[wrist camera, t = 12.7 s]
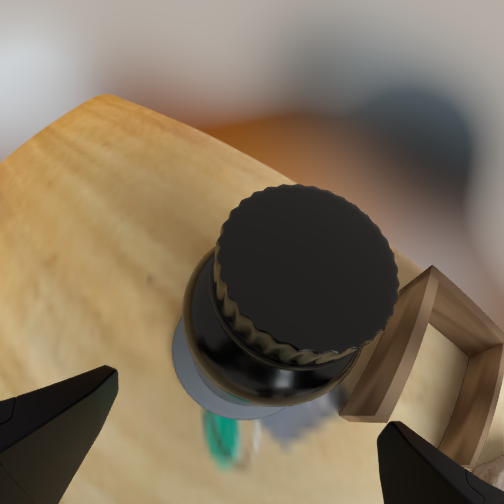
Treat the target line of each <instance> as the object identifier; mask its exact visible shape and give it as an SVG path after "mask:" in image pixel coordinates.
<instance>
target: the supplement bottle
mask: <svg viewBox="0 0 504 504" xmlns="http://www.w3.org/2000/svg"><path fill="white" fill-rule="evenodd" d="M397 273H398V268H397V265H396V263H395V261H394V253H393V252H392V250H391V249H390V247H389V244H388V241H387V239H386V238H385V237H384V236H383V235H382V233H381V231H380V229H379V227H378V226H377V225H376V224H374V223H373V222H372V221H371V219H370V218H369V216H368V215H366V214H365V213H363V212H362V211H360V209H359V208H358V207H357V206H356V205H354V204H352V203H349V202H348V201H347V200H346V199H344V198H343V197H341V196H337V195H335V194H333V193H331V192H330V191H328V190H321V189H319V188H316V187H314V186H303V185H300V184H296V185H285V184H282V185H280V186H278V187H267V188H266V189H264V190H263V191H258V192H254V193H253V194H252V196H251V197H249V198H246V199H243V200H242V201H241V202H240V204H239V206H238V207H236V208H235V209H233V210H232V211H231V212H230V214H229V218H228V220H227V221H226V222H225V223H224V224H223V225H222V227H221V233H220V237H219V239H218V240H217V242H216V246H215V247H214V248H212V249H211V250H210V251H209V252H208V253H207V254H206V255H205V256H204V257H203V258H202V259H201V261H200V262H199V263H198V265H197V266H196V268H195V269H194V271H193V273H192V275H191V277H190V279H189V282H188V284H187V287H186V291H185V294H184V300H183V327H184V332H185V337H186V340H187V344H188V347H189V350H190V353H191V356H192V359H193V362H194V365H195V368H196V370H197V373H198V375H199V376H200V378H201V380H202V381H203V383H204V384H205V385H206V386H207V388H208V389H209V390H210V391H212V392H213V393H214V394H215V395H217V396H218V397H220V398H221V399H223V400H225V401H227V402H230V403H233V404H237V405H241V406H252V407H285V406H293V405H297V404H302V403H305V402H308V401H311V400H314V399H316V398H318V397H320V396H322V395H324V394H326V393H327V392H329V391H331V390H332V389H333V388H334V387H336V386H337V385H338V384H339V383H340V382H341V381H342V380H343V379H344V378H345V377H346V376H347V375H348V374H349V372H350V371H351V370H352V368H353V367H354V365H355V363H356V362H357V360H358V358H359V356H360V353H361V351H362V348H363V346H365V345H367V344H369V343H370V342H371V341H372V340H373V339H374V338H375V336H376V334H378V333H379V332H381V331H382V330H384V328H385V326H386V323H387V320H388V319H389V318H390V317H391V316H392V315H393V311H394V304H395V303H396V302H397V300H398V295H397V289H398V287H399V281H398V277H397Z"/></svg>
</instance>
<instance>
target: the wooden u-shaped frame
mask: <svg viewBox="0 0 504 504" xmlns="http://www.w3.org/2000/svg"><path fill="white" fill-rule="evenodd" d="M428 322H429V323H430V324H431V325H432V326H434V327H435V328H436V329H437V330H438V331H440V332H441V333H442V334H443V335H444V336H446V337H447V338H448V339H449V340H450V341H452V342H453V343H454V344H455V345H456V346H457V347H459V348H460V349H461V350H462V351H463V352H464V353H466V354H467V355H468V356H469V357H470V359H469V363H468V367H467V370H466V374H465V378H464V381H463V385H462V388H461V391H460V394H459V397H458V400H457V403H456V406H455V409H454V412H453V415H452V417H451V420H450V422H449V425H448V427H447V430H446V432H445V435H444V437H443V439H442V441H441V444H440V446H439V448H438V450H440V451H441V452H442V453H444V454H445V455H447V456H448V457H449V458H451V459H452V460H454V461H455V462H456V463H458V464H459V465H461V466H462V467H475V466H476V463H477V461H478V459H479V456H480V454H481V451H482V449H483V446H484V443H485V441H486V438H487V435H488V432H489V429H490V426H491V423H492V420H493V416H494V413H495V409H496V406H497V402H498V398H499V394H500V389H501V385H502V380H503V375H504V333H503V332H502V331H501V330H500V329H499V327H498V326H497V325H495V323H494V322H493V321H492V320H491V319H490V318H489V317H488V316H487V315H486V314H485V313H484V312H483V311H482V310H481V309H480V308H479V307H478V306H477V305H476V304H475V303H474V302H473V301H472V300H471V299H470V298H469V297H468V296H467V295H466V294H465V293H463V292H462V291H461V290H460V289H459V288H458V287H457V286H456V285H455V284H454V283H453V282H451V281H450V280H449V279H448V278H447V277H446V276H445V275H444V274H443V273H441V272H440V271H439V270H438V269H437V268H436V267H434V266H433V265H431V266H430V267H429V268H428V269H426V270H425V271H424V272H423V273H421V274H420V275H419V276H418V277H416V278H415V279H414V280H413V281H411V282H410V283H409V284H407V285H406V286H405V287H403V288H402V289H401V290H400V293H399V296H398V300H397V302H396V303H395V306H394V311H393V315H392V316H391V317H390V318H389V320H388V323H387V325H386V327H385V330H384V332H383V334H382V336H381V339H380V341H379V343H378V345H377V347H376V349H375V351H374V353H373V355H372V357H371V359H370V361H369V363H368V365H367V367H366V369H365V371H364V373H363V375H362V377H361V379H360V381H359V382H358V384H357V386H356V388H355V390H354V391H353V393H352V395H351V397H350V398H349V400H348V402H347V404H346V405H345V407H344V409H343V410H342V412H341V413H340V415H339V416H341V417H343V418H344V419H346V420H348V421H349V422H369V423H387V422H388V420H389V418H390V416H391V414H392V412H393V410H394V408H395V406H396V404H397V401H398V399H399V397H400V395H401V393H402V391H403V388H404V386H405V384H406V381H407V379H408V377H409V374H410V372H411V369H412V367H413V364H414V362H415V359H416V356H417V354H418V351H419V348H420V345H421V342H422V340H423V337H424V334H425V330H426V327H427V324H428Z"/></svg>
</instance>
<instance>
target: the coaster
mask: <svg viewBox="0 0 504 504" xmlns="http://www.w3.org/2000/svg"><path fill="white" fill-rule="evenodd" d="M172 354H173V362H174V367H175V371H176V373H177V376H178V378H179V380H180V382H181V384H182V386H183V387H184V389H185V390H186V392H187V393H188V394H189V395H190V396H191V397H192V398H193V400H194V401H196V402H197V403H198V404H199V405H201V406H202V407H203V408H205V409H207V410H208V411H210V412H212V413H214V414H217V415H219V416H222V417H226V418H229V419H236V420H252V419H259V418H263V417H266V416H269V415H272V414H274V413H276V412H278V411H280V410H281V409H283V408H285V407H286V406H285V407H252V406H241V405H237V404H233V403H230V402H227V401H225V400H223V399H221V398H220V397H218V396H217V395H215V394H214V393H213V392H212V391H210V390H209V389H208V388H207V386H206V385H205V384H204V383H203V381H202V380H201V378H200V376H199V375H198V373H197V370H196V368H195V365H194V362H193V359H192V356H191V353H190V350H189V347H188V344H187V340H186V337H185V332H184V327H183V316H182V318H181V320H180V321H179V323H178V326H177V328H176V331H175V335H174V339H173V347H172Z"/></svg>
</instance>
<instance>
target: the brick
mask: <svg viewBox="0 0 504 504" xmlns="http://www.w3.org/2000/svg"><path fill="white" fill-rule="evenodd" d="M472 474H474V475H475V476H477V477H479V478H480V479H482V480H484V481H485V482H487V483H489V484H491V485H493V486H495V487H497V488H499V489H501V490H503V491H504V456H499V457H498V458H497V459H495V460H494V461H491V462H489V463H486V464H482V465H480V466H478V467H476V468H475V469H474V471H473V472H472Z"/></svg>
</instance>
